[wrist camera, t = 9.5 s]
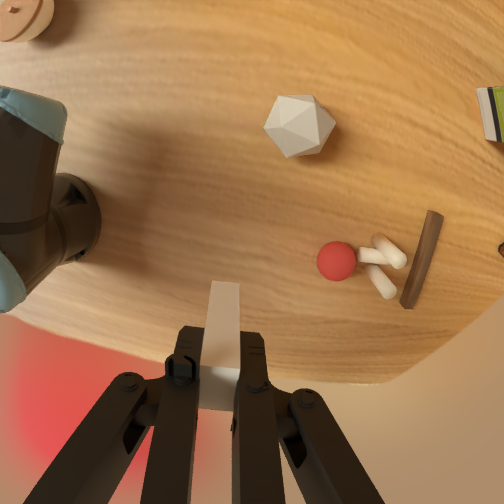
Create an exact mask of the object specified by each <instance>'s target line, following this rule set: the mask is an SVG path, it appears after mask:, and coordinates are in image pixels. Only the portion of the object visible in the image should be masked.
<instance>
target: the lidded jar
mask: <svg viewBox="0 0 504 504" xmlns="http://www.w3.org/2000/svg"><path fill="white" fill-rule="evenodd" d="M53 13H54V0H4V2H3V3H2V5H1V6H0V41H2V42H13V43H19V42H25V41H28V40H31V39H33V38H34V37H36V36H38V35H39V34H40V33H41V32H43V31H44V30H45V29H46V28H47V27H48V25H49V24H50V22H51V20H52V18H53Z"/></svg>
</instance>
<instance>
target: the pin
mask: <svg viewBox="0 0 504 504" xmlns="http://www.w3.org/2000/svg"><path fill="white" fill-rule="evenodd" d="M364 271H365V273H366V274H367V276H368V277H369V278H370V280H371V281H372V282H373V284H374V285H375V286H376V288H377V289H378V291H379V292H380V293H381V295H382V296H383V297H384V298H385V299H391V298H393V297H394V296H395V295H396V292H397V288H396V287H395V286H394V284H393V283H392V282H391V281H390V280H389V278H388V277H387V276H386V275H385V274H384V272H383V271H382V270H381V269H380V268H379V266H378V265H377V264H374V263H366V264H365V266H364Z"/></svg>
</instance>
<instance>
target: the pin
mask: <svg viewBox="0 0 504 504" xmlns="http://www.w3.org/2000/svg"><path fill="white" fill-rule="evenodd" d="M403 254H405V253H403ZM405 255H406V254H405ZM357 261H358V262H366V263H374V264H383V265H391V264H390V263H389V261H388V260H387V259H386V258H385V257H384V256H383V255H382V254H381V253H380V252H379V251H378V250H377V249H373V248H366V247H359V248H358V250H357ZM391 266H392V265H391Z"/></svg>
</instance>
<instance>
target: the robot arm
mask: <svg viewBox="0 0 504 504" xmlns="http://www.w3.org/2000/svg"><path fill="white" fill-rule="evenodd" d="M66 121H67V109H66V107H65V106H64V105H63V104H62V103H61V102H59V101H56V100H53V99H50V98H47V97H44V96H40V95H37V94H33V93H29V92H25V91H22V90H18V89H14V88H10V87H5V86H0V313H6V312H9V311H10V310H12V309H13V308H14V307H15V306H16V305H18V304H19V303H21V302H23V301H24V300H25V299H26V297H27V296H28V295H29V294H30V293H31V291H32V290H33V289H34V288H35V287H36V286H37V285H38V284H39V283H40V282H41V281H42V280H43V279H45V278H46V277H47V276H48V275H49V274H50V273H51V272H52V271H53V270H54V269H55V268H56V267H57V266H60V265H64V264H68V263H72V262H75V261H77V260H79V259H81V258H83V257H84V256H85V255H86V254H87V253H88V252H89V251H90V250H91V249H92V248H93V247H94V246H95V244H96V242H97V240H98V237H99V234H100V229H101V216H100V210H99V206H98V203H97V201H96V198H95V196H94V195H93V193H92V191H91V190H90V189H89V187H88V186H87V185H86V184H85V183H84V182H83V181H81V180H80V179H79V178H77V177H75V176H73V175H70V174H66V173H57V174H56V169H57V164H58V159H59V154H60V150H61V145H63V143H64V140H63V135H64V130H65V125H66ZM198 408H201V409H211V410H221V411H233V419H232V425H231V430H230V431H232V504H286V503H285V494H284V486H283V476H282V467H281V458H280V450H279V443H280V445H281V447H282V450H283V452H284V454H285V457H286V459H287V461H288V464H289V466H290V468H291V470H292V473H293V475H294V477H295V479H296V482H297V484H298V486H299V488H300V491H301V493H302V495H303V497H304V499H305V502H306V504H385V503H384V501H383V500H382V498H381V496H380V495H379V493H378V491H377V489H376V488H375V486H374V484H373V483H372V481H371V480H370V478H369V476H368V475H367V473H366V471H365V469H364V468H363V466H362V464H361V463H360V461H359V459H358V458H357V456H356V454H355V453H354V451H353V449H352V448H351V446H350V444H349V443H348V441H347V439H346V437H345V436H344V434H343V432H342V431H341V429H340V427H339V426H338V424H337V422H336V421H335V419H334V417H333V415H332V414H331V412H330V410H329V408H328V407H327V405H326V403H325V402H324V400H323V398H322V397H321V396H320V395H319V394H318V393H317V392H315V391H313V390H311V389H307V388H306V389H299V390H296V391H295V392H293V393H288V392H284V391H282V390H279V389H277V388H275V387H274V386H273V385H272V384H271V382H270V381H269V379H268V373H267V364H266V355H265V346H264V339H263V338H262V337H261V335H260V334H259V333H255V332H244V331H240V284H239V283H232V282H223V281H214V280H212V284H211V291H210V297H209V304H208V310H207V317H206V324H205V328H200V327H192V326H184V327H183V328H182V329H181V330H180V331H179V334H178V338H177V342H176V347H175V350H174V354H172V355H170V356H169V357H167V359H166V361H165V375H164V376H163V377H160V378H157V379H150V380H144V378H143V377H142V376H141V375H139V374H137V373H133V372H124V373H122V374H119V375H118V376H117V377H115V378H114V380H113V381H112V382H111V384H110V385H109V386H108V387H107V389H106V390H105V391H104V393H103V394H102V395H101V397H100V398H99V399H98V401H97V402H96V403H95V405H94V406H93V407H92V409H91V410H90V411H89V413H88V414H87V415H86V417H85V418H84V419H83V421H82V422H81V423H80V425H79V426H78V427H77V429H76V430H75V431H74V433H73V434H72V435H71V437H70V438H69V440H68V441H67V442H66V444H65V445H64V446H63V448H62V449H61V450H60V452H59V453H58V455H57V456H56V457H55V459H54V460H53V461H52V463H51V464H50V466H49V467H48V468H47V470H46V471H45V473H44V474H43V475H42V477H41V478H40V480H39V481H38V482H37V484H36V485H35V487H34V488H33V490H32V491H31V493H30V494H29V495H28V497H27V498H26V500H25V501H24V503H23V504H108V502H109V500H110V499H111V497H112V495H113V493H114V492H115V490H116V488H117V486H118V484H119V482H120V481H121V479H122V477H123V475H124V474H125V472H126V470H127V468H128V467H129V465H130V463H131V461H132V459H133V458H134V456H135V454H136V452H137V450H138V449H139V447H140V445H141V443H142V442H143V440H144V438H145V436H146V434H147V433H148V431H149V429H150V427H151V426H154V431H153V436H152V441H151V446H150V451H149V456H148V462H147V467H146V472H145V477H144V483H143V489H142V495H141V501H140V504H190V501H191V486H192V474H193V462H194V451H195V440H196V430H197V420H198ZM278 440H279V441H278Z"/></svg>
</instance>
